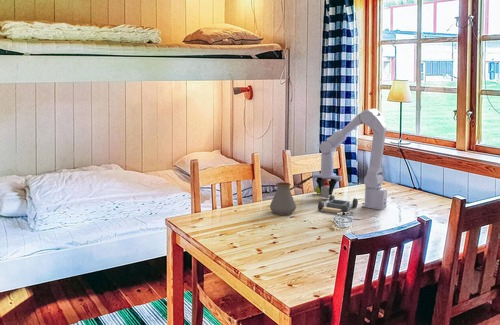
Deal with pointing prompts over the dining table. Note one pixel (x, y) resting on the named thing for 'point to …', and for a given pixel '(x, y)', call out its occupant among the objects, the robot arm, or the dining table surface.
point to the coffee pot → (284, 198)
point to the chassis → (336, 205)
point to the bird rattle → (326, 183)
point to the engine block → (325, 192)
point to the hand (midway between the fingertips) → (326, 194)
